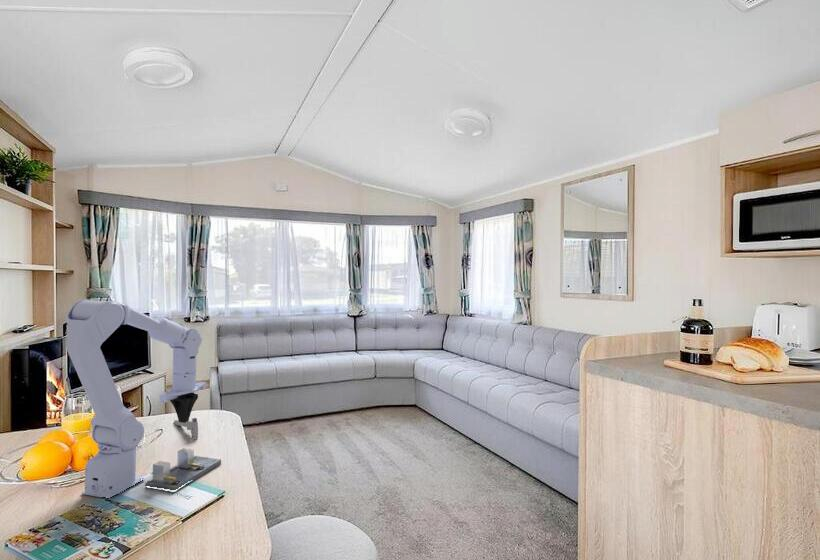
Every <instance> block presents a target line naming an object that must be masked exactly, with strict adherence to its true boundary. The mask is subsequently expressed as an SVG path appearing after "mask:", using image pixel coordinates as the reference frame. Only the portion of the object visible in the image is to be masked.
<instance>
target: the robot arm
mask: <svg viewBox="0 0 820 560" xmlns="http://www.w3.org/2000/svg"><path fill="white" fill-rule="evenodd" d="M64 318H65V320H66V323H67V331H66V332H67V333H66V344H65V347H66V352H67V354H68V356H69V358H70V360H71V363H72V366H73V367H74V369H75V371H76V373H77V376H78V379H79V380H80V383H81V385H82V388H83V390H84V392H85V394H86V396H87V399H88V401H89V404H90V406H91V408H92V411H93V413H94V416H93V417H92V419H91V420H90V421H89V422H90V424H91V429H92V430H91V439H92V440H93V442H95V443H96V444H97V450H98V451H97V453H96V454H95V455H94V456H93V457H91V458H90V459H88V460H87V461H86V464H85V467H84V490H82V491H81V494H82V495H87V496H91V497H97V498H102V497H107V498H109V497H112V496H114V495H116V494H118V493H119V494H121V493H123V492H125V491H127V490H128V489H127V488H129V487H131V486H133V485H134V484H136V483H138V482H139V481H141V479H142V480H143V479H144V478H145V477H141V476H137V475H136V469H137V468H136V467H137V466H136V465H137V462H136V461H137V448H138V447H139V444H140V443H141V441H142V439H143V437H144V434H145V427H144V424H143V423H141V422H140V421H139V420H138V419H137V418H136V416H135V414H134V413H133V412H132V411H130V409H128V408H127V407H125V405H124V403H123V401H122V398H121V396H120V393H119V391H118V389H117V387H116V383H115V380H114V379H113V376H112V374H111V371H110V368H109V366H108V364H107V361H106V358H105V355H104V354H103V351H102V349H101V346H102V345H103V343H104V342H105V341H106V340H107V339H109V337H110V336H111V335H112V334H113V333H114V332H115V331H116V330H117V329H118V328H120V326H121V325H129V326H131V327H134V328H137V329H140V330H144V331H146V332H147V333H148V336H149V337H150V338H151V339H153V340H155V341H159V342H161V343H164V344H165V345H168V346H169V347H170V348H171V349H172V388H171V389H169V390H167V391H165V392H163V393H160V394H159V403H168V402H170V403H171V404H172V406H173V408H174V411H175V414H176V416H177V420H179V422H182V423H186V422H188V421H190V418H191V417H190V416H191V414H192V410H193V408H194V405H195V403H196V401H198V398H199V394H197V393H196V392H199V391H201V390H202V391H203V390H204V391H205V390H206V389H207V382H206V381H205V382H204V381H199V382H197V355H198V354H199V349H200V347H201V345H202V342H203V337H202V336H201V334H200V332H199V330H197V329H195V328H187V327H186V324H184V323H177V322H174V321H173V318H172V317H170V316H164V317H158V318H156V319H155V318H154V317H151V316H149V315H147V314H145V313H143V312H141V311H139V310H138V309H134V308H133V307H131V306H129V305H127V304H124V303H120V302H118V301H115V300H114V301H113V300H108V301H107V300H106V301H105V300H104V301H103V300H91V299H80V300H77V301H76V302H74V303H73V304H72V305H71V306H70V308H69V310H68V311H67V312H66V314H65V316H64ZM138 484H139V483H138ZM136 485H137V484H136ZM134 486H135V485H134ZM134 486H133V487H134ZM131 488H132V487H131ZM126 489H127V490H126ZM129 489H130V488H129ZM124 490H125V491H124ZM122 491H123V492H122ZM120 492H121V493H120ZM119 494H118V495H119ZM116 496H117V495H116ZM114 497H115V496H114ZM107 498H106V499H107ZM112 498H113V497H112ZM109 499H110V498H109Z"/></svg>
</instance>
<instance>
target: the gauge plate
mask: <svg viewBox="0 0 820 560" xmlns="http://www.w3.org/2000/svg"><path fill="white" fill-rule="evenodd" d="M193 463H196V464H200V466H199V467H190V468H188V469H187V468H180V467H177V466H178V463H177V464H176V465H174V466H172V467H171V462H169V461H162V460H159V461H157V462H155V463H153V464H152V478H150V479H147V481H146V482H145V483H144V484H145V485H144V487H145V486H150V487H157V488H164V489H170V490H176V489H178V488H179V487H181V486H182V485H184V484H185V483H187V482H188V481H191V480H193V482H194V481H196V480H197V479H199V478H201V477H202V476H204V475H206V474H207V473H209V472H211V471H213V470H214V469H215V468H217V467H219V466H220V465H221V464H222V459H221V458H220V459H219V458H212V457H207V456H206V457H205V456H199V455H194V461H193Z"/></svg>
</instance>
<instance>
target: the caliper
mask: <svg viewBox="0 0 820 560" xmlns="http://www.w3.org/2000/svg"><path fill="white" fill-rule="evenodd" d="M197 419H198V418H197V417H193V418H191V420H189V421H188V422H186V423H182V422H179V420H178V419H174V421H173V422H174V423H173V424H174V425H175V426H180V427H185V428H186V430H188V431H190V435H191V438H192V439H194V440H197V439H198V438H199V424H198V420H197Z"/></svg>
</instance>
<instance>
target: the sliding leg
mask: <svg viewBox="0 0 820 560" xmlns="http://www.w3.org/2000/svg"><path fill="white" fill-rule="evenodd" d="M194 452H195V449H192V448H186V447H184V448H182V449H179V450H178V451H177V464H178V466H177V467H180V468H187V469H188V468H190V467H199V466H200V464H196V463H193V461H194V456H195V455H194V454H195V453H194Z"/></svg>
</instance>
